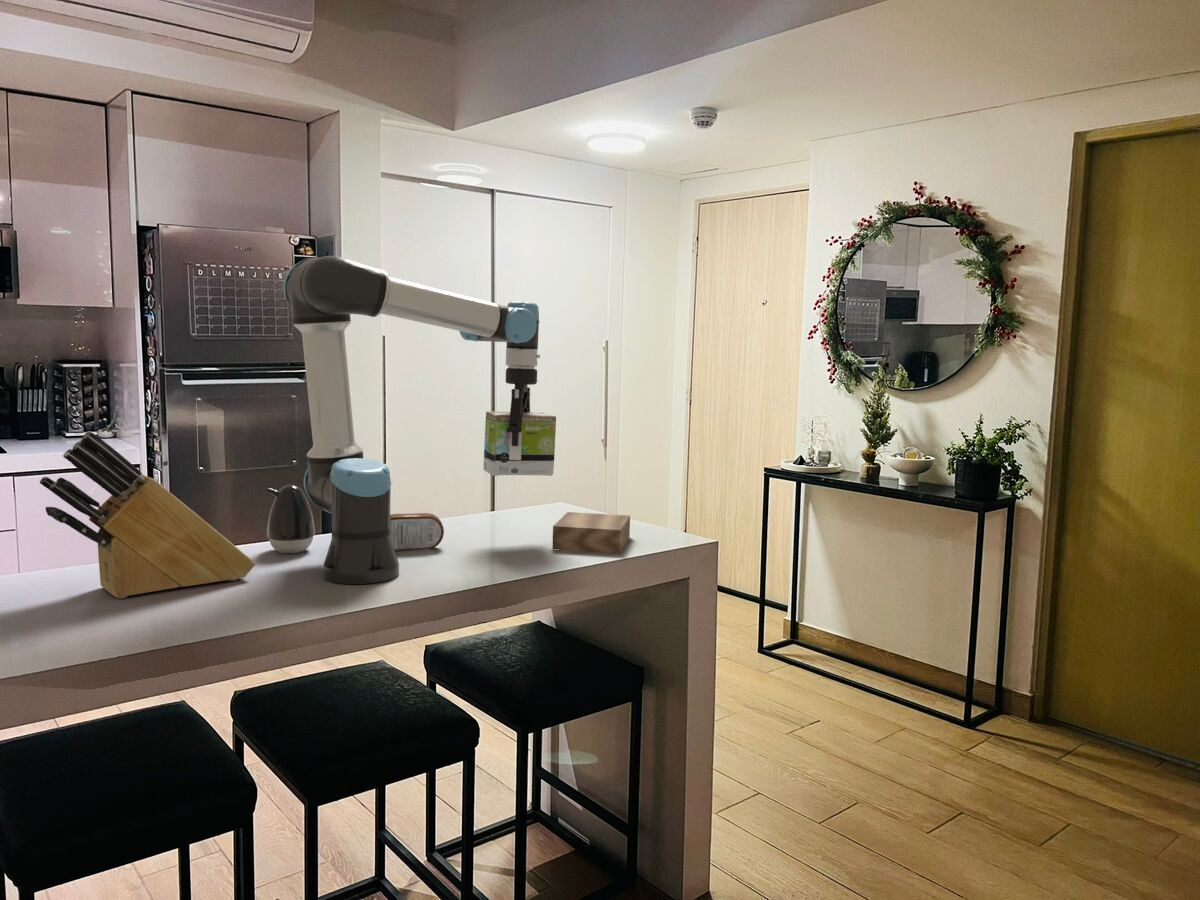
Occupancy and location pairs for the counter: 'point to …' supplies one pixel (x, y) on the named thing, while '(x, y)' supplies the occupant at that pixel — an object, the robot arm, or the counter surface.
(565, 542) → the walnut block
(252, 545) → the counter surface
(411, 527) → the tin
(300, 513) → the pump dispenser
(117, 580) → the knife block
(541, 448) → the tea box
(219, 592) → the counter surface
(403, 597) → the counter surface
